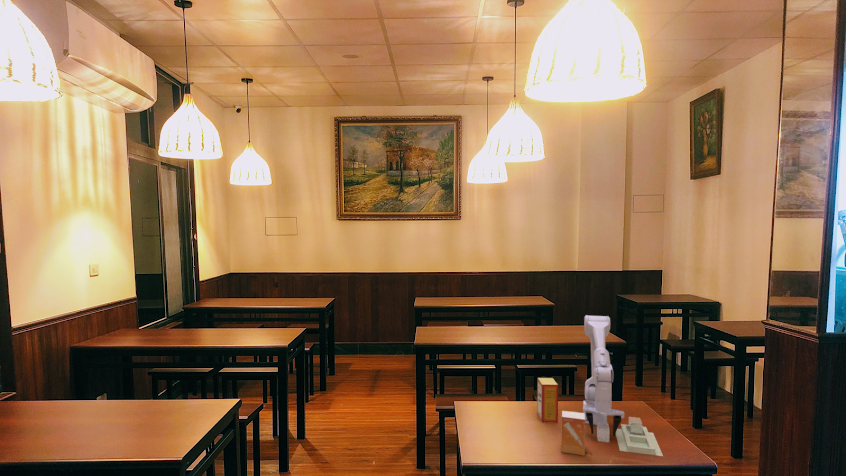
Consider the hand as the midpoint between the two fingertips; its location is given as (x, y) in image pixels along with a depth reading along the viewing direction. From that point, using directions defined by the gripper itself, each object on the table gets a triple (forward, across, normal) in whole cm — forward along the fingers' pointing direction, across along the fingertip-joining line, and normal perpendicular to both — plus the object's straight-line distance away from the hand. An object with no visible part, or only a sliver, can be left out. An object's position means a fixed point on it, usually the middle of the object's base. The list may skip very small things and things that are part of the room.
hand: (603, 434), depth 178 cm
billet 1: (+2, 0, 0) cm, 2 cm away
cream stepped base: (+2, +12, +1) cm, 12 cm away
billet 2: (+2, +12, +6) cm, 14 cm away
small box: (+3, -11, -12) cm, 16 cm away
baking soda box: (+3, -21, +16) cm, 27 cm away
